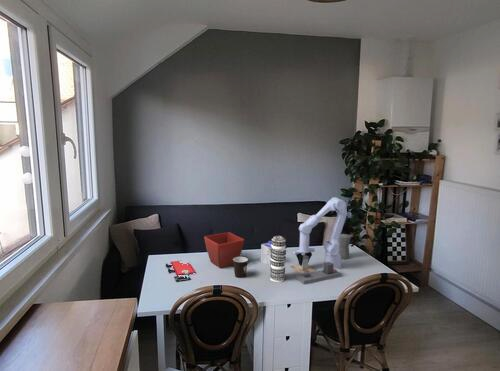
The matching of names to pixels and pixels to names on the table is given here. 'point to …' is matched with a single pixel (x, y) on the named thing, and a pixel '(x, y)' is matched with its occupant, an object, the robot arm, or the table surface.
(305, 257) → the grey plug
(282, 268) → the decorative candle
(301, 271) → the cork mat
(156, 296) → the table surface
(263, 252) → the ink cartridge box
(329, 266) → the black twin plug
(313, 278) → the power strip
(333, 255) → the robot arm
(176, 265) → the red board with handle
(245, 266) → the coffee mug
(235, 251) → the plant pot
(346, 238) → the coffeepot
